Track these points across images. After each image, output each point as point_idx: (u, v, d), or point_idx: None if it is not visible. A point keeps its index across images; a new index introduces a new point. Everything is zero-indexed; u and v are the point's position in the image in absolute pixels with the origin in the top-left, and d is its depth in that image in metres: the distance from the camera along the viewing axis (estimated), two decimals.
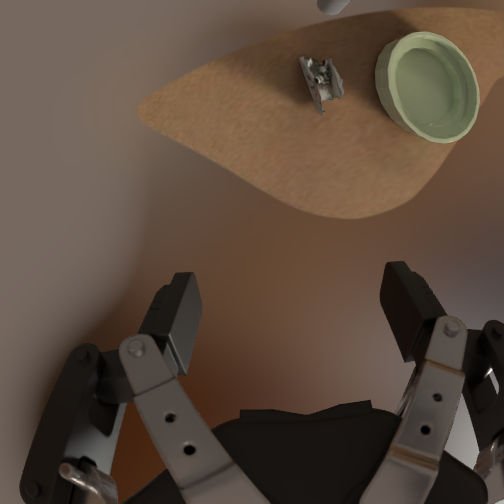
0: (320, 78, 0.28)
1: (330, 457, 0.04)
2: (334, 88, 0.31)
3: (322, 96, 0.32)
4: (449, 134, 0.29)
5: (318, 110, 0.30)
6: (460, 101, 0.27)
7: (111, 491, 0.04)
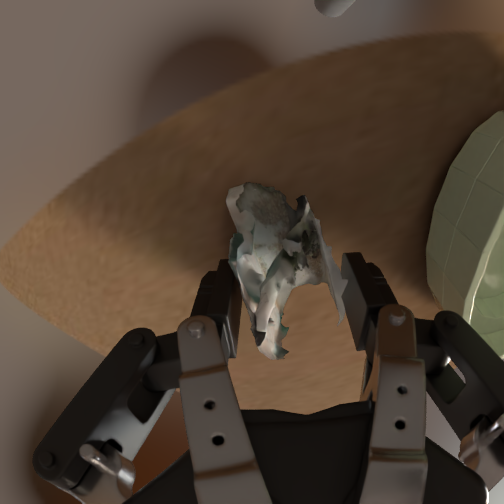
0: (282, 274, 0.12)
1: (330, 457, 0.04)
2: (324, 264, 0.14)
3: None
4: None
5: (274, 340, 0.14)
6: None
7: (128, 479, 0.05)
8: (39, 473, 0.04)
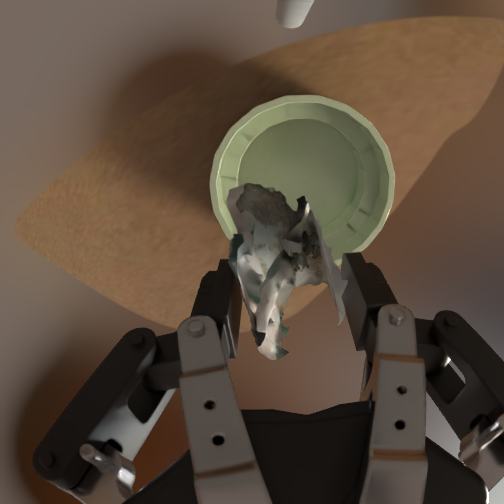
0: (282, 275, 0.12)
1: (330, 457, 0.04)
2: (324, 264, 0.14)
3: None
4: (334, 251, 0.26)
5: (274, 340, 0.14)
6: (363, 194, 0.24)
7: (128, 478, 0.05)
8: (39, 473, 0.04)
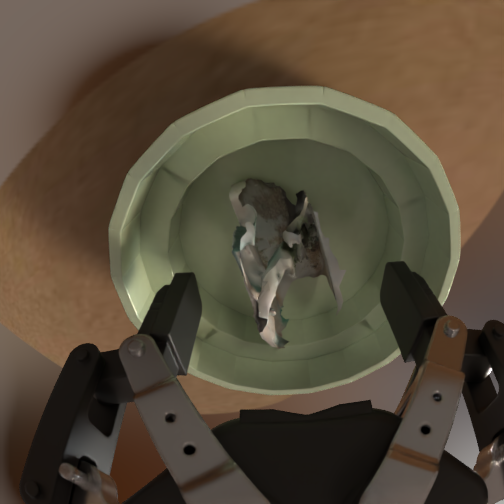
0: (283, 265, 0.12)
1: (330, 457, 0.04)
2: (323, 257, 0.15)
3: None
4: (338, 361, 0.15)
5: (275, 330, 0.14)
6: None
7: (111, 491, 0.04)
8: None
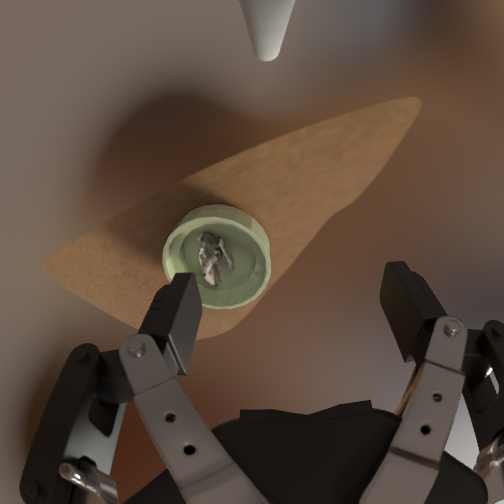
0: (213, 259, 0.40)
1: (330, 457, 0.04)
2: (231, 257, 0.43)
3: (223, 262, 0.44)
4: (240, 297, 0.43)
5: (215, 282, 0.42)
6: (256, 264, 0.41)
7: (111, 491, 0.04)
8: None
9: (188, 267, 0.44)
